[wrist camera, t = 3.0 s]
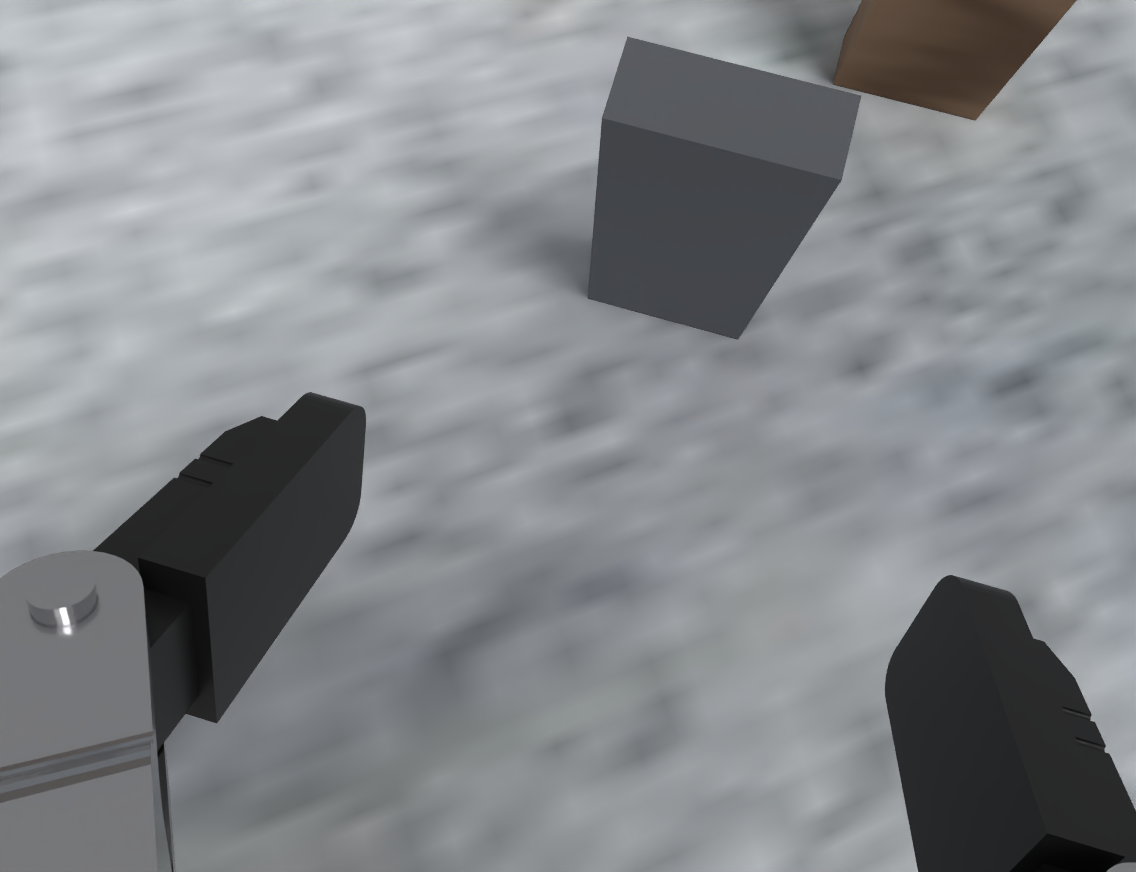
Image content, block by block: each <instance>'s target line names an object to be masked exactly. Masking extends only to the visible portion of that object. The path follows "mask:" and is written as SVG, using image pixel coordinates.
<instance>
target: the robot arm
mask: <svg viewBox="0 0 1136 872" xmlns="http://www.w3.org/2000/svg"><path fill="white" fill-rule="evenodd" d="M365 428H366V414H365V410H364V408H363V407H361V406H358V405H354V404H350V403H347V402H343V401H340V400H336V399H333V398H329V397H326V396H322V395H319V394H315V393H312V392H309V393H306V394H305V395H303V396H302V397H301V398H300V399H299V400H298V401H297V402H296V403H295V404H294V405H293V406H292V407H291V408H290V409H289V410H288V411H287V412H286V413H285V414H284V415H283V416H282V417H281V418H280V419H279V420H278V421H277V420H273V419H270V418H266V417H263V416H261V417H258V418H256V419H254V420H251V421H249V422H247V423H244V424H242V425H240V426H237V427H235V428H232V429H230V430H228V431H225V432H224V433H223V434H222V435H221V436H220V437H219V438H218V439H217V440H215V441H214V442H213V443H212V444H211V445H210V446H209V447H208V448H207V449H205V450H204V451H203V452H202V453H201V454H200V458H199V459H194V460H193V461H192V462H191V463H190V464H189V465H188V466H187V467H185V468H184V469H183V470H182V471H181V472H180V473H179V477H178V478H173V479H172V480H171V481H170V482H169V483H168V484H167V485H166V486H164V487H163V488H162V489H161V490H160V491H159V492H158V493H157V494H156V495H154V496H153V497H152V498H151V499H150V500H149V501H148V502H147V503H146V504H144V505H143V506H142V507H141V508H140V509H139V510H138V511H137V512H136V513H134V514H133V515H132V516H131V517H130V518H129V519H128V520H127V521H126V522H124V523H123V524H122V525H121V526H120V527H119V528H118V529H117V530H116V531H115V532H113V533H112V534H111V535H110V536H109V537H108V538H107V539H106V540H105V541H103V542H102V543H101V544H100V545H99V546H98V547H97V548H96V549H94V550H93V551H70V552H62V553H57V554H51V555H48V556H44V557H41V558H38V559H35V560H33V561H30V562H28V563H25V564H23V565H21V566H19V567H17V568H15V569H13V570H12V571H10V572H9V573H7V574H6V575H4V576H3V577H1V578H0V872H176V870H175V857H174V844H173V831H172V818H171V805H170V793H169V780H168V767H167V754H166V744H165V740H166V739H167V738H168V736H169V735H170V734H171V732H172V731H173V730H174V728H175V727H176V726H177V724H178V723H179V721H180V720H181V719H182V717H183V716H184V715H185V714H189V715H192V716H195V717H198V718H201V719H205V720H208V721H211V722H214V723H218V721H219V720H220V718H221V717H222V715H223V714H224V712H225V711H226V710H227V708H228V707H229V705H230V704H231V702H232V701H233V700H234V698H235V697H236V695H237V694H238V692H239V691H240V689H241V688H242V687H243V685H244V684H245V682H246V681H247V679H248V678H249V677H250V675H251V674H252V672H253V671H254V669H255V668H256V666H257V665H258V664H259V662H260V661H261V659H262V658H263V656H264V655H265V654H266V652H267V651H268V649H269V648H270V646H271V645H272V643H273V642H274V641H275V639H276V638H277V636H278V635H279V633H280V632H281V630H282V629H283V628H284V626H285V625H286V623H287V622H288V620H289V619H290V618H291V616H292V615H293V613H294V612H295V610H296V609H297V607H298V606H299V605H300V603H301V602H302V600H303V599H304V597H305V596H306V595H307V593H308V592H309V590H310V589H311V587H312V586H313V584H314V583H315V582H316V580H317V579H318V577H319V576H320V574H321V573H322V572H323V570H324V569H325V567H326V566H327V564H328V563H329V561H330V560H331V559H332V557H333V556H334V554H335V553H336V551H337V550H338V549H339V547H340V546H341V544H342V543H343V541H344V540H345V538H346V537H347V535H348V533H349V531H350V529H351V527H352V525H353V523H354V520H355V517H356V514H357V511H358V508H359V503H360V498H361V487H362V472H363V458H364V443H365ZM885 697H886V703H887V708H888V714H889V719H890V724H891V730H892V735H893V740H894V746H895V751H896V756H897V761H898V767H899V772H900V777H901V783H902V788H903V793H904V799H905V804H906V809H907V814H908V820H909V825H910V830H911V836H912V841H913V846H914V852H915V857H916V862H917V867H918V872H1136V811H1135V809H1134V806H1133V804H1132V802H1131V800H1130V798H1129V795H1128V793H1127V791H1126V789H1125V787H1124V785H1123V782H1122V780H1121V778H1120V776H1119V774H1118V771H1117V769H1116V767H1115V765H1114V763H1113V761H1112V758H1111V756H1110V754H1108V753H1105V751H1104V748H1105V746H1106V745H1105V743H1104V741H1103V739H1102V737H1101V734H1100V732H1099V730H1098V728H1097V726H1096V723H1095V722H1092V721H1090V717H1091V712H1090V710H1089V708H1088V706H1087V704H1086V702H1085V699H1084V697H1083V695H1082V693H1081V691H1080V688H1079V686H1078V684H1077V682H1076V680H1075V678H1074V677H1073V675H1072V674H1071V673H1070V672H1069V671H1068V669H1067V668H1066V667H1065V666H1064V665H1063V664H1062V662H1061V661H1060V660H1059V659H1058V658H1057V657H1056V655H1055V654H1054V653H1053V652H1052V651H1051V649H1050V648H1049V647H1048V646H1047V645H1046V644H1045V642H1043V641H1040V640H1036V639H1033V637H1032V634H1031V632H1030V630H1029V627H1028V625H1027V623H1026V620H1025V618H1024V616H1023V613H1022V611H1021V608H1020V606H1019V604H1018V601H1017V600H1016V598H1015V596H1014V595H1013V594H1012V593H1010V592H1009V591H1006V590H1002V589H999V588H995V587H991V586H988V585H984V584H981V583H977V582H974V581H970V580H967V579H963V578H960V577H956V576H953V575H948V576H946V577H944V578H943V579H941V580H940V581H939V582H938V584H937V585H936V586H935V588H934V589H933V591H932V593H931V594H930V596H929V597H928V599H927V600H926V602H925V604H924V605H923V607H922V608H921V610H920V611H919V613H918V615H917V616H916V618H915V619H914V621H913V622H912V624H911V626H910V627H909V629H908V630H907V632H906V633H905V635H904V636H903V638H902V640H901V641H900V643H899V644H898V646H897V647H896V649H895V651H894V653H893V655H892V657H891V659H890V662H889V665H888V669H887V674H886V681H885Z"/></svg>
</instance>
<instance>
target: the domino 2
mask: <svg viewBox="0 0 1136 872" xmlns="http://www.w3.org/2000/svg"><path fill="white" fill-rule="evenodd" d="M1075 1H1076V0H862V2H861V4H860V6H859V8H858V10H857V12H856V14H855V16H854V18H853V20H852V22H851V24H850V26H849V28H848V30H847V32H846V34H845V37H844V41H843V45H842V49H841V53H840V57H839V61H838V65H837V69H836V73H835V77H834V82H833V84H834V85H838V86H842V87H846V88H850V89H854V90H858V91H862V92H866V93H870V94H874V95H878V96H882V97H885V98H889V99H893V100H897V101H901V102H905V103H909V104H913V105H917V106H921V107H925V108H929V109H933V110H937V111H941V112H945V113H949V114H953V115H957V116H961V117H965V118H969V119H973V120H976V119H977V118H978V117H979V116H980V114H981V113H982V112H983V111H984V110H985V108H986V107H987V106H988V105H989V104H990V102H991V101H992V100H993V99H994V98H995V97H996V95H997V94H998V93H999V92H1000V91H1001V89H1002V88H1003V87H1004V86H1005V85H1006V83H1007V82H1008V81H1009V80H1010V79H1011V78H1012V76H1013V75H1014V74H1015V73H1016V72H1017V70H1018V69H1019V68H1020V67H1021V66H1022V64H1023V63H1024V62H1025V61H1026V60H1027V58H1028V57H1029V56H1030V55H1031V54H1032V53H1033V51H1034V50H1035V49H1036V48H1037V47H1038V45H1039V44H1040V43H1041V42H1042V41H1043V39H1044V38H1045V37H1046V36H1047V35H1048V34H1049V32H1050V31H1051V30H1052V29H1053V28H1054V26H1055V25H1056V24H1057V23H1058V22H1059V20H1060V19H1061V18H1062V17H1063V16H1064V15H1065V13H1066V12H1067V11H1068V10H1069V9H1070V7H1071V6H1072V5H1073V4H1074V3H1075Z"/></svg>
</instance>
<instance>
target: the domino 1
mask: <svg viewBox="0 0 1136 872" xmlns="http://www.w3.org/2000/svg"><path fill="white" fill-rule="evenodd" d="M860 99H861V96H859V95H856V94H852V93H848V92H844V91H840V90H836V89H832V88H828V87H824V86H820V85H816V84H812V83H808V82H804V81H800V80H796V79H792V78H788V77H784V76H780V75H777V74H773V73H769V72H765V71H761V70H757V69H753V68H749V67H745V66H741V65H737V64H733V63H729V62H725V61H721V60H717V59H713V58H709V57H705V56H701V55H697V54H694V53H690V52H686V51H682V50H678V49H674V48H670V47H666V46H662V45H658V44H654V43H650V42H646V41H642V40H638V39H634V38H630V37H627V40H626V44H625V47H624V50H623V53H622V56H621V59H620V63H619V66H618V69H617V72H616V75H615V78H614V82H613V85H612V88H611V91H610V94H609V98H608V101H607V104H606V107H605V110H604V113H603V117H602V125H601V138H600V151H599V163H598V176H597V189H596V201H595V214H594V227H593V239H592V252H591V265H590V278H589V290H588V299H592V300H595V301H599V302H603V303H606V304H610V305H614V306H617V307H621V308H625V309H628V310H632V311H636V312H639V313H643V314H647V315H650V316H654V317H658V318H661V319H665V320H669V321H672V322H676V323H680V324H683V325H687V326H691V327H694V328H698V329H702V330H705V331H709V332H713V333H716V334H720V335H724V336H727V337H731V338H735V339H739V337H740V336H741V334H742V332H743V331H744V329H745V328H746V326H747V325H748V323H749V322H750V320H751V319H752V317H753V315H754V314H755V312H756V311H757V309H758V308H759V306H760V305H761V303H762V302H763V300H764V299H765V297H766V295H767V294H768V292H769V291H770V289H771V288H772V286H773V285H774V283H775V282H776V280H777V279H778V277H779V275H780V274H781V272H782V271H783V269H784V268H785V266H786V265H787V263H788V262H789V260H790V259H791V257H792V255H793V254H794V252H795V251H796V249H797V248H798V246H799V245H800V243H801V242H802V240H803V238H804V237H805V235H806V234H807V232H808V231H809V229H810V228H811V226H812V225H813V223H814V222H815V220H816V218H817V217H818V215H819V214H820V212H821V211H822V209H823V208H824V206H825V205H826V203H827V202H828V200H829V198H830V197H831V195H832V194H833V192H834V191H835V189H836V188H837V186H838V185H839V183H840V182H841V180H842V176H843V171H844V167H845V163H846V159H847V154H848V150H849V146H850V141H851V137H852V133H853V129H854V124H855V120H856V116H857V112H858V107H859V103H860Z"/></svg>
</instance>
